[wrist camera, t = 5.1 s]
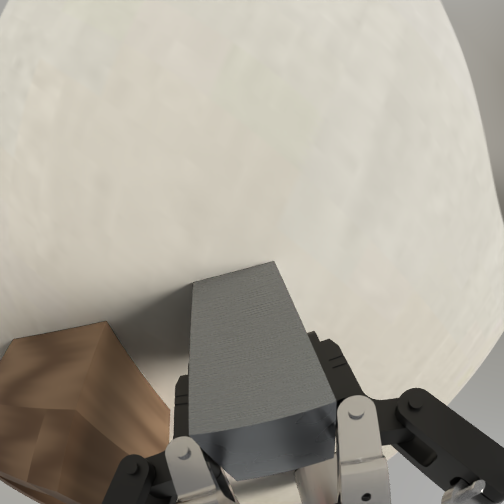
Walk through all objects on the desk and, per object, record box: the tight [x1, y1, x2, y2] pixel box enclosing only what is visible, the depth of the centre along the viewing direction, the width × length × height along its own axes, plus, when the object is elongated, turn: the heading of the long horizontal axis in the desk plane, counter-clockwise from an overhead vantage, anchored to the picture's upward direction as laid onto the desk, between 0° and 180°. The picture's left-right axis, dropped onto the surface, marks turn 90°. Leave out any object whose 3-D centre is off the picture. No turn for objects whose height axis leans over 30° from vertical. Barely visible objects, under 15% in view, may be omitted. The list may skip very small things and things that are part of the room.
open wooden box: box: [0, 321, 170, 504], centre depth 11 cm, size 9×9×10 cm
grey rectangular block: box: [189, 261, 337, 481], centre depth 11 cm, size 4×5×8 cm
